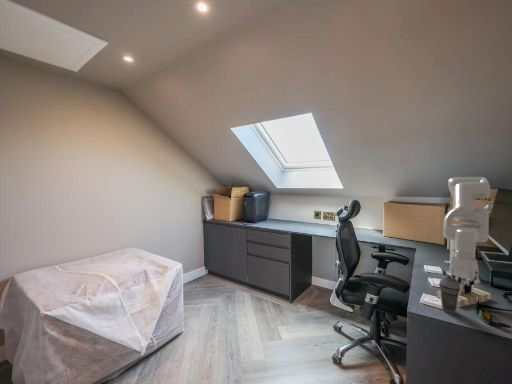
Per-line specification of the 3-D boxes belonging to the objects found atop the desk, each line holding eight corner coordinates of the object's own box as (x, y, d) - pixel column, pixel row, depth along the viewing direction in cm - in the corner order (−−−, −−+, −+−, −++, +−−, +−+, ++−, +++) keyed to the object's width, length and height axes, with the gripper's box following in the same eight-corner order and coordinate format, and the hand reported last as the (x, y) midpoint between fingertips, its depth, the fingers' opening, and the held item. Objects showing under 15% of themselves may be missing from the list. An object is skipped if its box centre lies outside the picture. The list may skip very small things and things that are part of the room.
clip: (466, 294, 121) (467, 280, 121) (473, 296, 118) (474, 282, 118) (452, 297, 118) (453, 283, 118) (459, 299, 115) (459, 285, 115)
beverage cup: (443, 305, 112) (444, 263, 111) (462, 313, 105) (464, 268, 104) (435, 309, 108) (436, 266, 107) (454, 317, 102) (456, 271, 101)
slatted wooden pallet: (467, 290, 126) (467, 285, 126) (490, 299, 117) (490, 293, 116) (436, 297, 120) (436, 291, 119) (458, 307, 110) (459, 300, 110)
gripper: (441, 250, 124) (440, 285, 125) (479, 260, 108) (477, 300, 109) (452, 249, 126) (451, 283, 127) (490, 258, 110) (488, 297, 111)
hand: (463, 290), depth 118 cm, fingers closed on clip, 3 cm apart
